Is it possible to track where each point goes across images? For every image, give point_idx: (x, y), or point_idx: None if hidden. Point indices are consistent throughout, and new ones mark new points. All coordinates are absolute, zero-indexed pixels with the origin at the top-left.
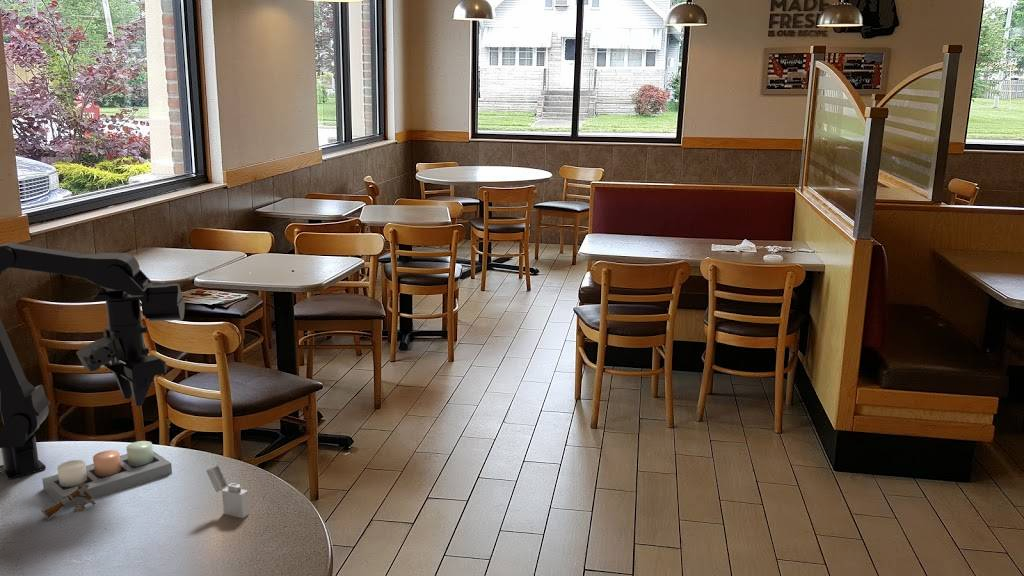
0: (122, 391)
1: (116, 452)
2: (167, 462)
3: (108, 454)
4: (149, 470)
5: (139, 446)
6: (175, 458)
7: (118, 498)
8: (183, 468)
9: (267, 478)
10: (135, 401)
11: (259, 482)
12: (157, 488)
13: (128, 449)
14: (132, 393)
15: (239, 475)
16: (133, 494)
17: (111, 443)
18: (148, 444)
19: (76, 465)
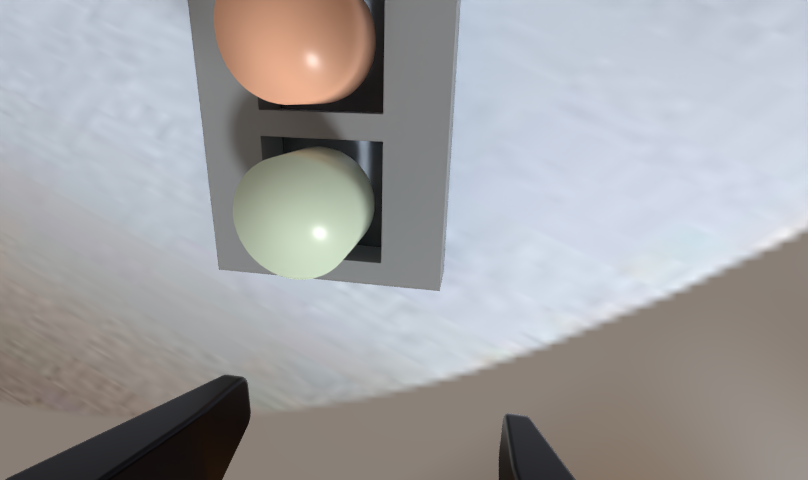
0: (522, 474)
1: (282, 90)
2: (233, 263)
3: (286, 43)
4: (209, 179)
5: (283, 216)
6: (356, 327)
7: (151, 3)
8: (255, 299)
9: (43, 402)
10: (183, 397)
11: (30, 375)
12: (152, 155)
13: (282, 158)
14: (118, 460)
15: (101, 371)
16: (153, 65)
17: (742, 245)
18: (278, 258)
19: None
